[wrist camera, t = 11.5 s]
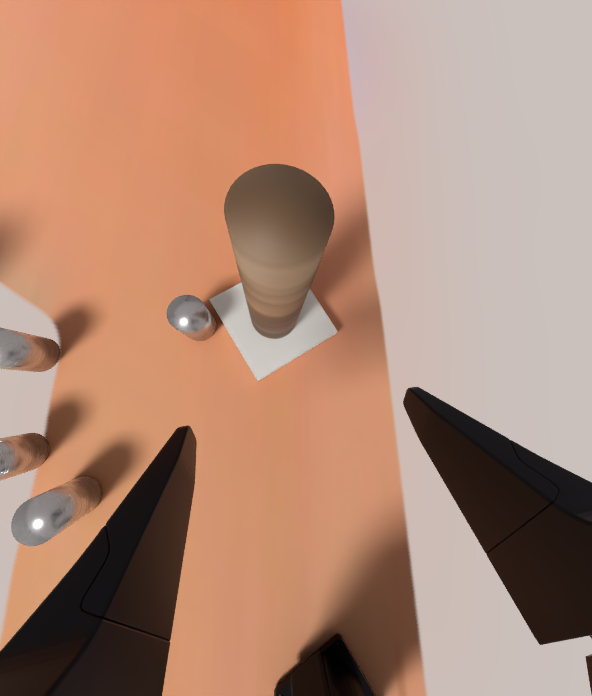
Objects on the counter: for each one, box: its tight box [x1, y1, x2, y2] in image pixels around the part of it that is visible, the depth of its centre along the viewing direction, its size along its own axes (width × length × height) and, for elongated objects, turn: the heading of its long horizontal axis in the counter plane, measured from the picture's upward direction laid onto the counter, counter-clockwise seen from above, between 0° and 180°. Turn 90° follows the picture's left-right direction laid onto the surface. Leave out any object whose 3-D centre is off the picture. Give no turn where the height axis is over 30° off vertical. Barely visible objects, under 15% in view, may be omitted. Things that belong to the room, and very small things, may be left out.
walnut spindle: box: [224, 164, 334, 339], centre depth 17 cm, size 4×4×14 cm
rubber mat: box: [209, 282, 338, 381], centre depth 24 cm, size 9×9×1 cm
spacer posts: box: [0, 295, 216, 546], centre depth 20 cm, size 16×20×4 cm
